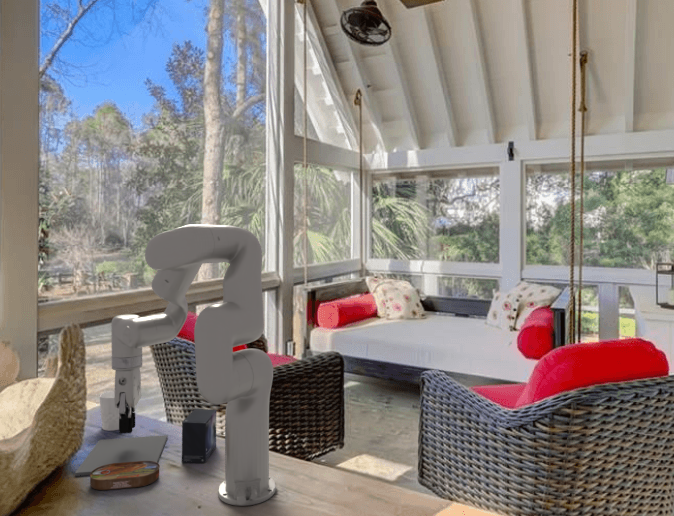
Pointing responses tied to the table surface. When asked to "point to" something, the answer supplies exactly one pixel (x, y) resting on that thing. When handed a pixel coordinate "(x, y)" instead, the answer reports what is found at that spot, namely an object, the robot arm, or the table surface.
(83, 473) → the mat
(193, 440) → the small box
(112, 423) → the white cup
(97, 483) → the tin
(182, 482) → the table surface
